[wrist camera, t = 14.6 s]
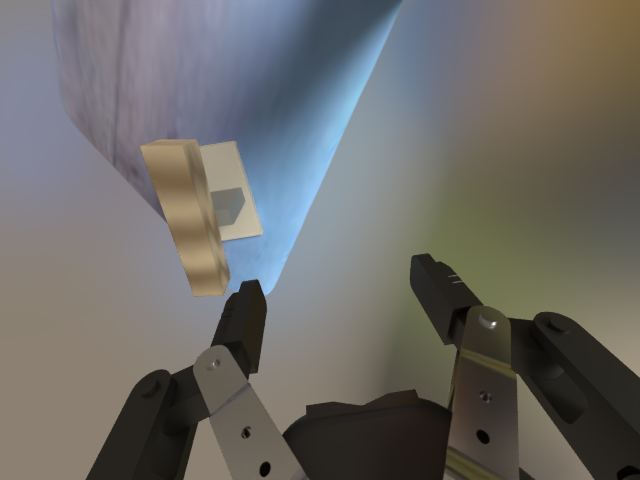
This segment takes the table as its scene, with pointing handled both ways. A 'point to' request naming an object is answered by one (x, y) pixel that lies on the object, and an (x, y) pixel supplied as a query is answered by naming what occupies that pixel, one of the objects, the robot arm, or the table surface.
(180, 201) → the rectangular block
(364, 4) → the table surface
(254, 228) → the stand
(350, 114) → the table surface
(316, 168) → the table surface
